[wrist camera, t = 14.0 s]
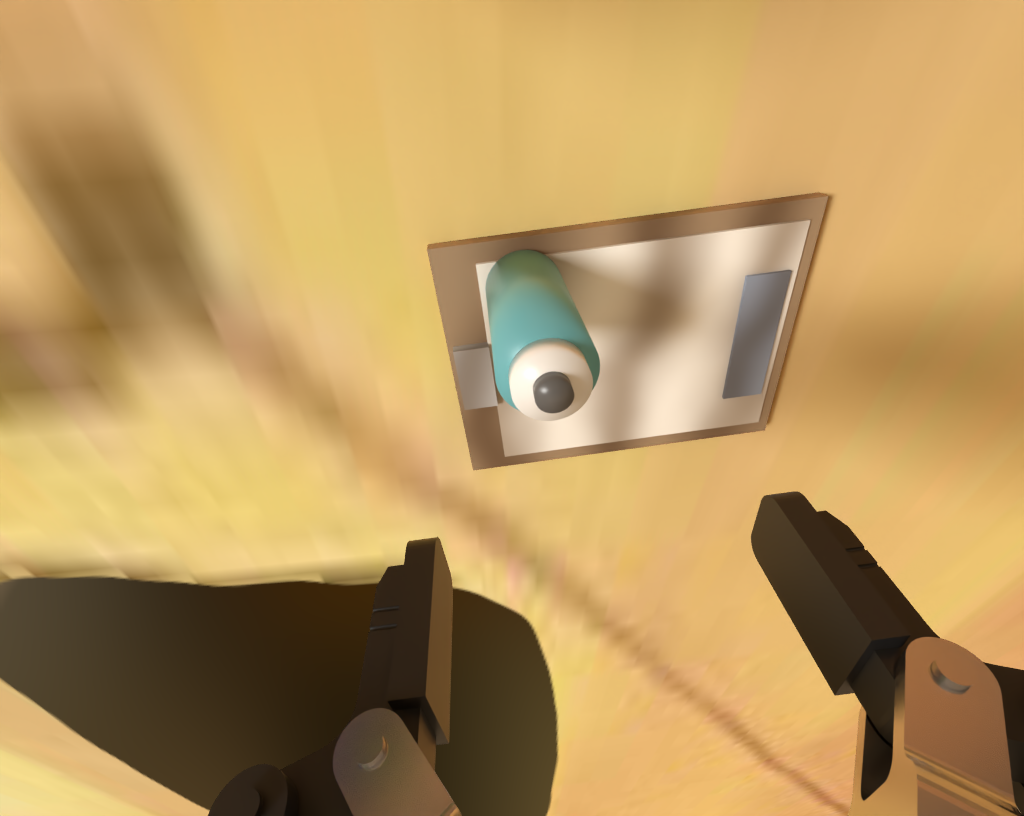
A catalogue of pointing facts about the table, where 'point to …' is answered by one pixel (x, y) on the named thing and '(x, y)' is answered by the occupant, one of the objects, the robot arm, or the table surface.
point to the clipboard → (642, 325)
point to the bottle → (538, 338)
